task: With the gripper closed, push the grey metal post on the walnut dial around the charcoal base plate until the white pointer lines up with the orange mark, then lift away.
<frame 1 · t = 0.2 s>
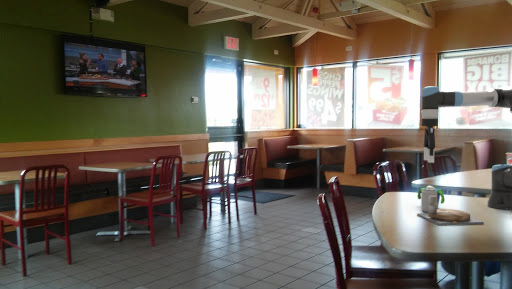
hand: (428, 161, 208), 27 cm above the table, tool pointing down, fingers open, 13 cm apart
dagger: (431, 198, 256), on the table
dial: (448, 206, 199), point 6 cm above the table, hinge at 0.0°
can: (429, 211, 218), on the table
snack cup: (430, 207, 228), on the table
dial base: (448, 219, 199), on the table
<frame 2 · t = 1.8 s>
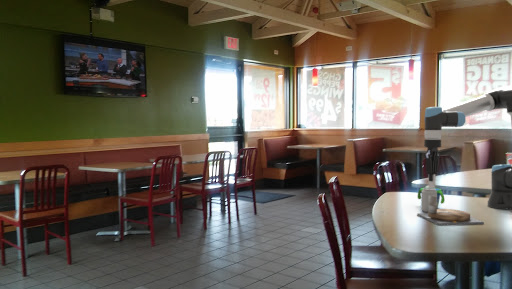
hand: (431, 187, 204), 14 cm above the table, tool pointing down, fingers closed
nothing on the table moved.
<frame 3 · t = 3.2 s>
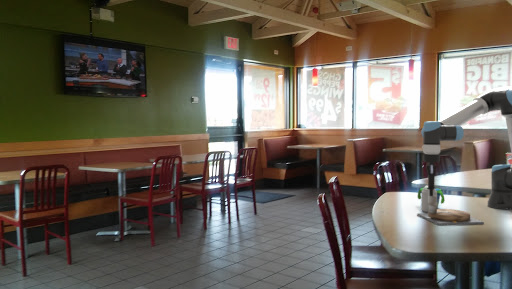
hand: (430, 202, 202), 8 cm above the table, tool pointing down, fingers closed
dial: (448, 206, 199), point 6 cm above the table, hinge at 0.0°, touching gripper
everything else where it was.
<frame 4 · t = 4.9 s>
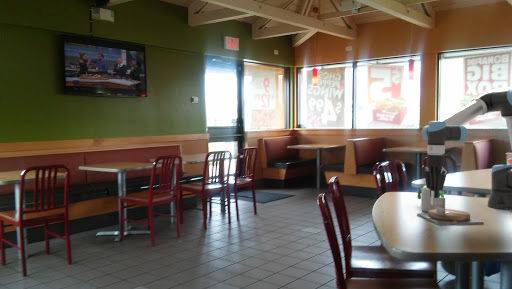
hand: (434, 204, 197), 8 cm above the table, tool pointing down, fingers closed
dial: (448, 206, 199), point 6 cm above the table, hinge at 35.4°, touching gripper
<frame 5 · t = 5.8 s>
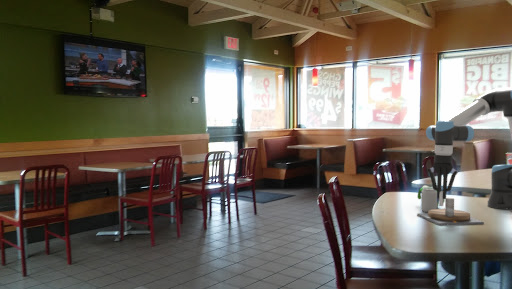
hand: (441, 205, 193), 8 cm above the table, tool pointing down, fingers closed
dial: (449, 206, 198), point 6 cm above the table, hinge at 62.6°, touching gripper
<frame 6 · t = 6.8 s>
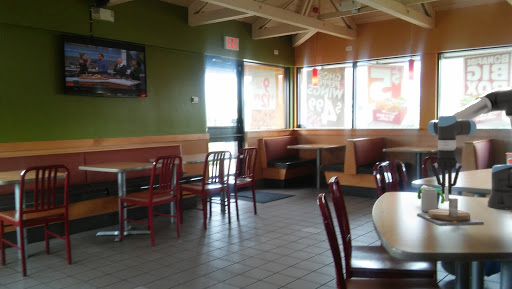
hand: (446, 200, 192), 10 cm above the table, tool pointing down, fingers closed
dial: (449, 206, 198), point 6 cm above the table, hinge at 73.1°
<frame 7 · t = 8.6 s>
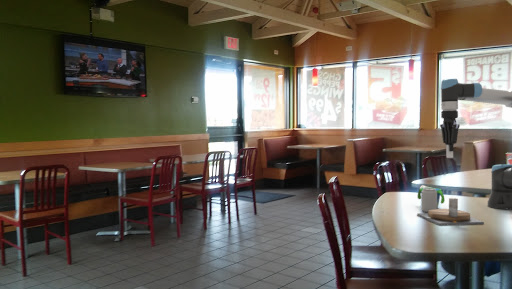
hand: (449, 157, 210), 28 cm above the table, tool pointing down, fingers closed
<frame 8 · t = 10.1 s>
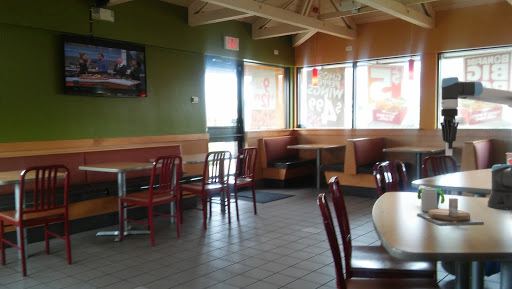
hand: (448, 155, 211), 29 cm above the table, tool pointing down, fingers closed
at the end: dial at +73° (first picture: +0°); can moved 0.2 cm from its start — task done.
